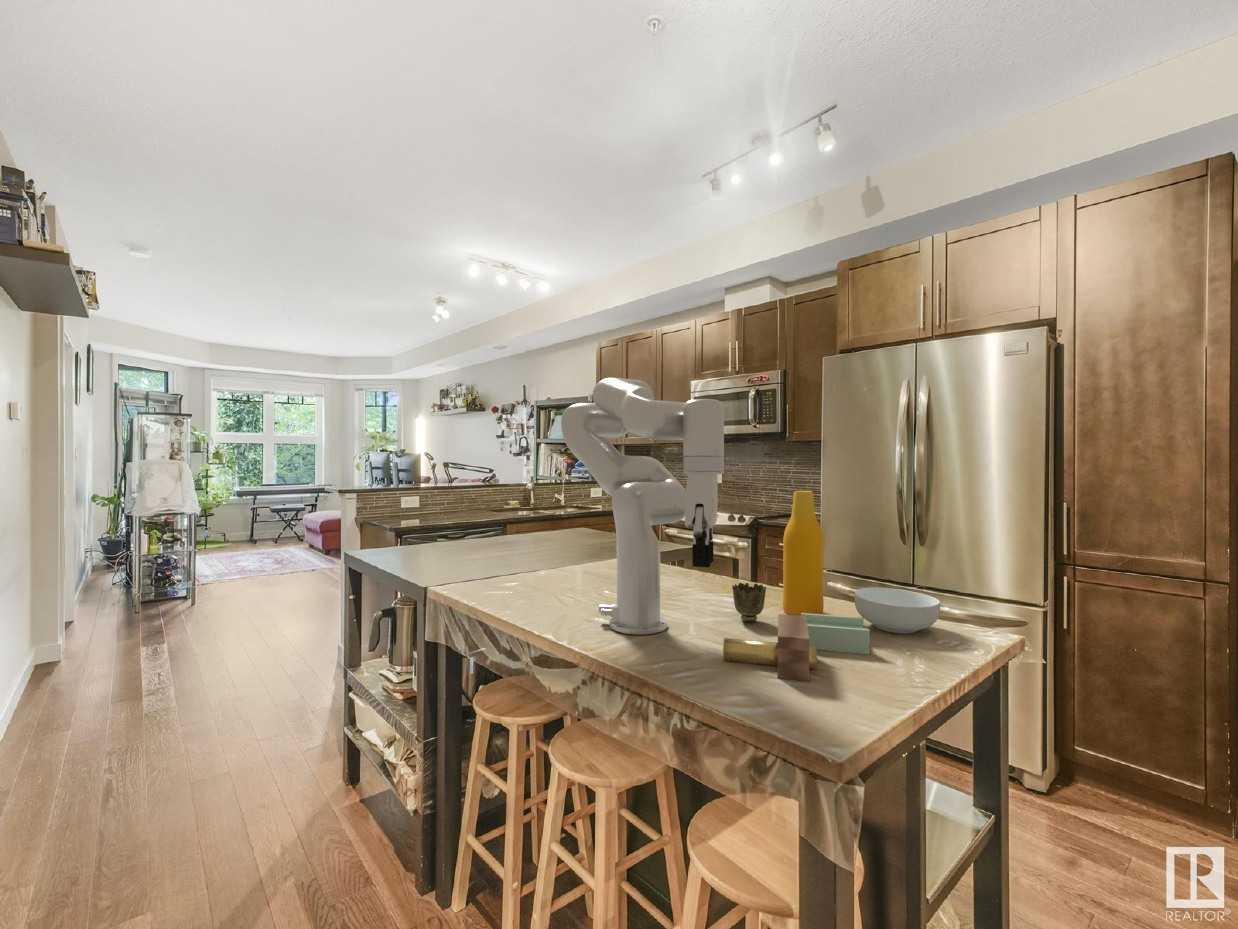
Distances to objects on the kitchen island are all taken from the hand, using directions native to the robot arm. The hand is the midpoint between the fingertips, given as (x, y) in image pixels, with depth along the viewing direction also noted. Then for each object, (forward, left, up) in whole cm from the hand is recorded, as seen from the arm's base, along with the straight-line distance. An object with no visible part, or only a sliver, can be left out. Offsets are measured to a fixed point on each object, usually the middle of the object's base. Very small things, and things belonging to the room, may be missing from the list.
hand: (703, 563), depth 104 cm
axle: (+12, 0, -16) cm, 20 cm away
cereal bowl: (+38, +29, -18) cm, 51 cm away
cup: (+7, +25, -17) cm, 31 cm away
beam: (+16, 0, -17) cm, 24 cm away
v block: (+24, +14, -17) cm, 33 cm away
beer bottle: (+19, +36, -17) cm, 44 cm away
